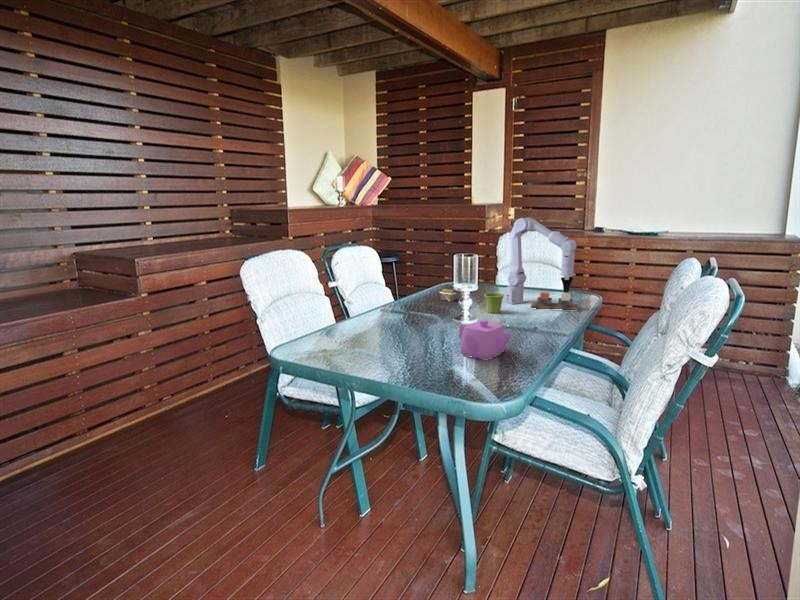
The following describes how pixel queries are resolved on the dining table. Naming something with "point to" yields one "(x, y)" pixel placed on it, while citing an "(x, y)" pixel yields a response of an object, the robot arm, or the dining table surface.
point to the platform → (447, 295)
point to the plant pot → (493, 302)
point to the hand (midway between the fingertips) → (566, 291)
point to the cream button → (565, 296)
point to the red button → (544, 295)
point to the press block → (554, 304)
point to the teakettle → (483, 339)
